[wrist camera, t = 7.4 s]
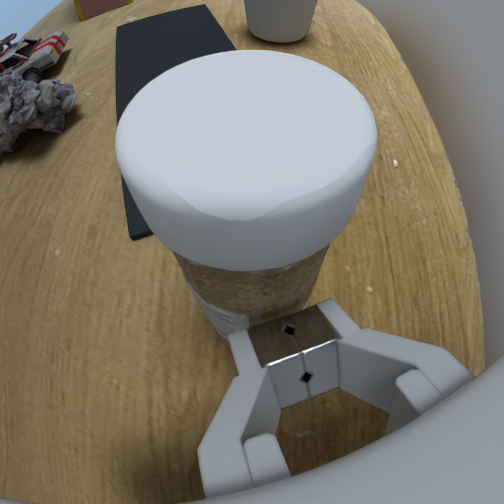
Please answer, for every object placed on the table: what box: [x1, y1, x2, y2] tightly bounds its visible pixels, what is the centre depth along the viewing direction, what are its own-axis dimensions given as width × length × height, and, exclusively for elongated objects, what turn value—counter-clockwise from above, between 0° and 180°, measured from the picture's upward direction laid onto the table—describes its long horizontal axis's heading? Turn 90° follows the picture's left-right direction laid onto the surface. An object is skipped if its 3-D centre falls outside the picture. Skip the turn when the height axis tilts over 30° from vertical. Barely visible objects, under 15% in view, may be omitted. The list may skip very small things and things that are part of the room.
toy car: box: [0, 30, 69, 84], centre depth 23 cm, size 8×18×8 cm, turn 101°
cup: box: [244, 0, 317, 43], centre depth 24 cm, size 11×8×8 cm
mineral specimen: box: [0, 67, 77, 154], centre depth 19 cm, size 12×9×10 cm
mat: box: [116, 4, 236, 240], centre depth 24 cm, size 32×12×1 cm, turn 18°
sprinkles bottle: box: [115, 50, 377, 349], centre depth 10 cm, size 5×5×13 cm
